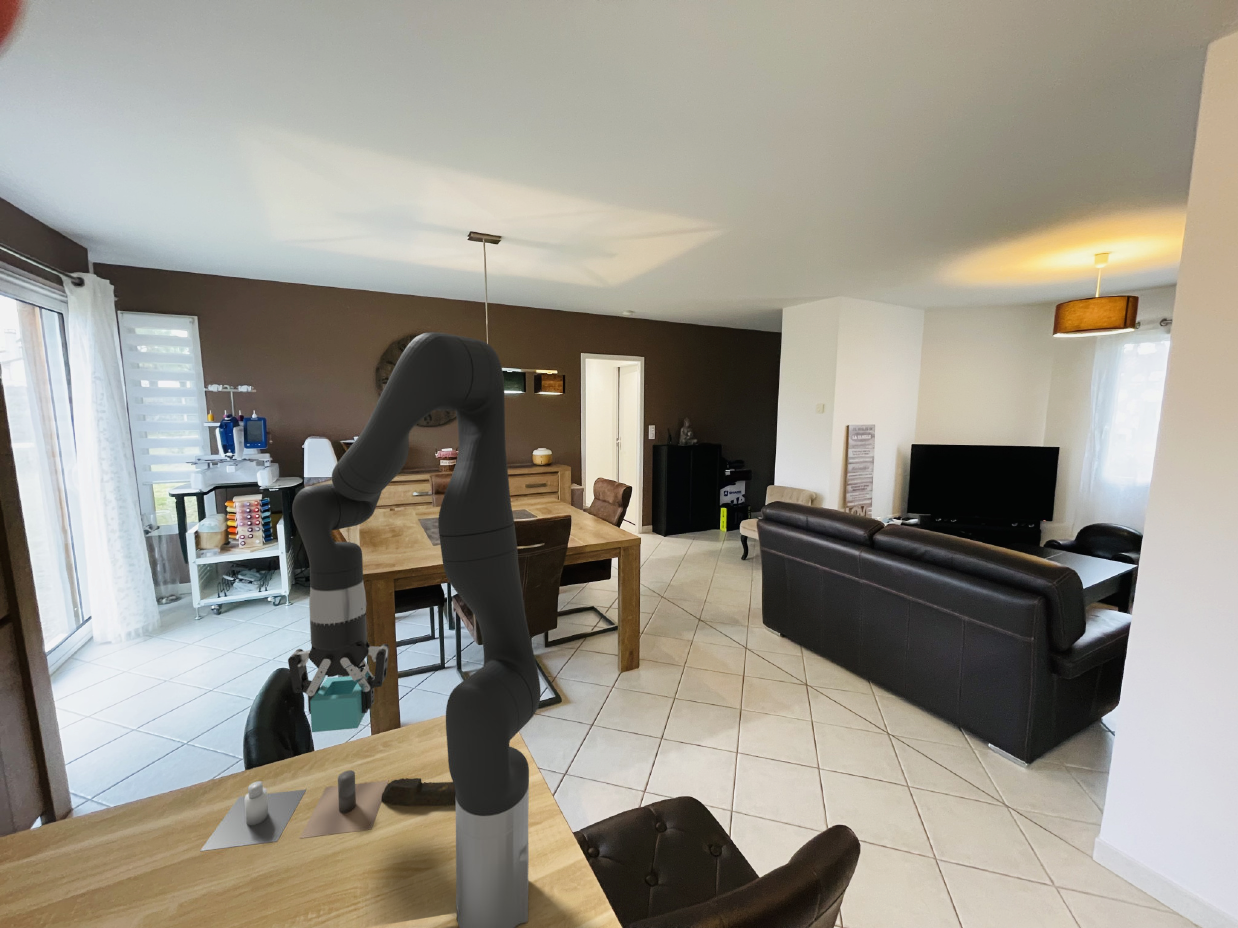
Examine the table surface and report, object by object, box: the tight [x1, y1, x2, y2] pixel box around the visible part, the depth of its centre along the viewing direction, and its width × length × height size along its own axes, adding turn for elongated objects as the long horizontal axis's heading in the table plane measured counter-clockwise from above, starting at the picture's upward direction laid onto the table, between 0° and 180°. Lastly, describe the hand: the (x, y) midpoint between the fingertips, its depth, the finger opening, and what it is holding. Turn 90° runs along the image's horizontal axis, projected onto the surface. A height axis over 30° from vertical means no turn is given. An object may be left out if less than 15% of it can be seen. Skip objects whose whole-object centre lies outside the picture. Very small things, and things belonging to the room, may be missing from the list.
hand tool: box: [381, 777, 456, 807], centre depth 81 cm, size 19×4×5 cm, turn 92°
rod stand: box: [299, 770, 390, 839], centre depth 78 cm, size 10×10×6 cm
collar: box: [310, 675, 366, 733], centre depth 77 cm, size 6×6×5 cm
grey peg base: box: [199, 780, 307, 852], centre depth 76 cm, size 10×10×6 cm
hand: (342, 711), depth 77 cm, fingers closed on collar, 6 cm apart
